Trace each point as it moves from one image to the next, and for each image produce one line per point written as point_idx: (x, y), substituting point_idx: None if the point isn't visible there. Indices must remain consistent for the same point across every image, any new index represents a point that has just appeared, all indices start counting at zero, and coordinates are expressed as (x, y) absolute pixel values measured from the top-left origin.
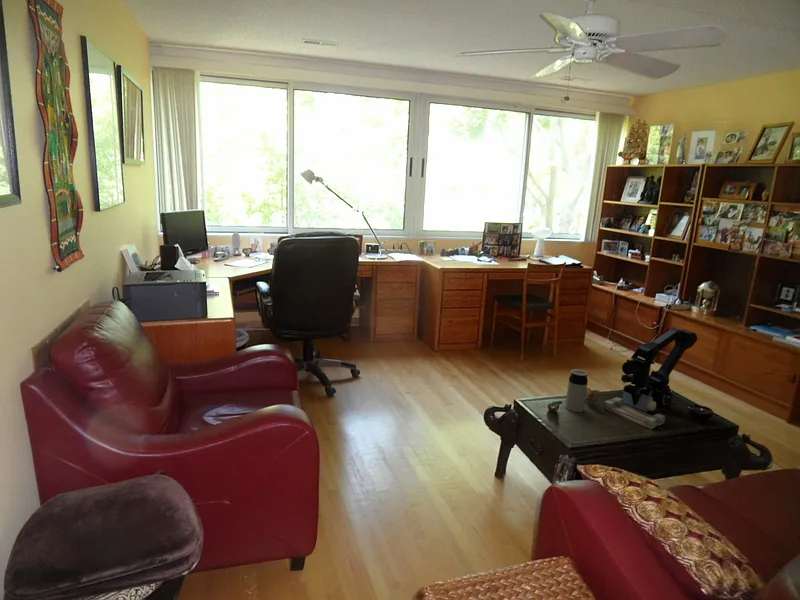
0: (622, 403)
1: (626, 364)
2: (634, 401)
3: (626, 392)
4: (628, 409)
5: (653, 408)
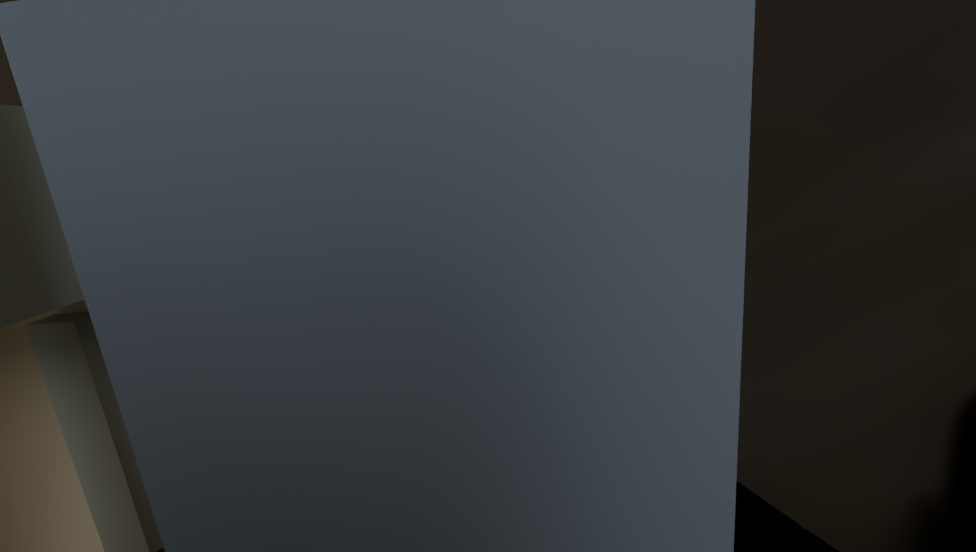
0: None
1: None
2: None
3: (118, 232)
4: (66, 506)
5: None
